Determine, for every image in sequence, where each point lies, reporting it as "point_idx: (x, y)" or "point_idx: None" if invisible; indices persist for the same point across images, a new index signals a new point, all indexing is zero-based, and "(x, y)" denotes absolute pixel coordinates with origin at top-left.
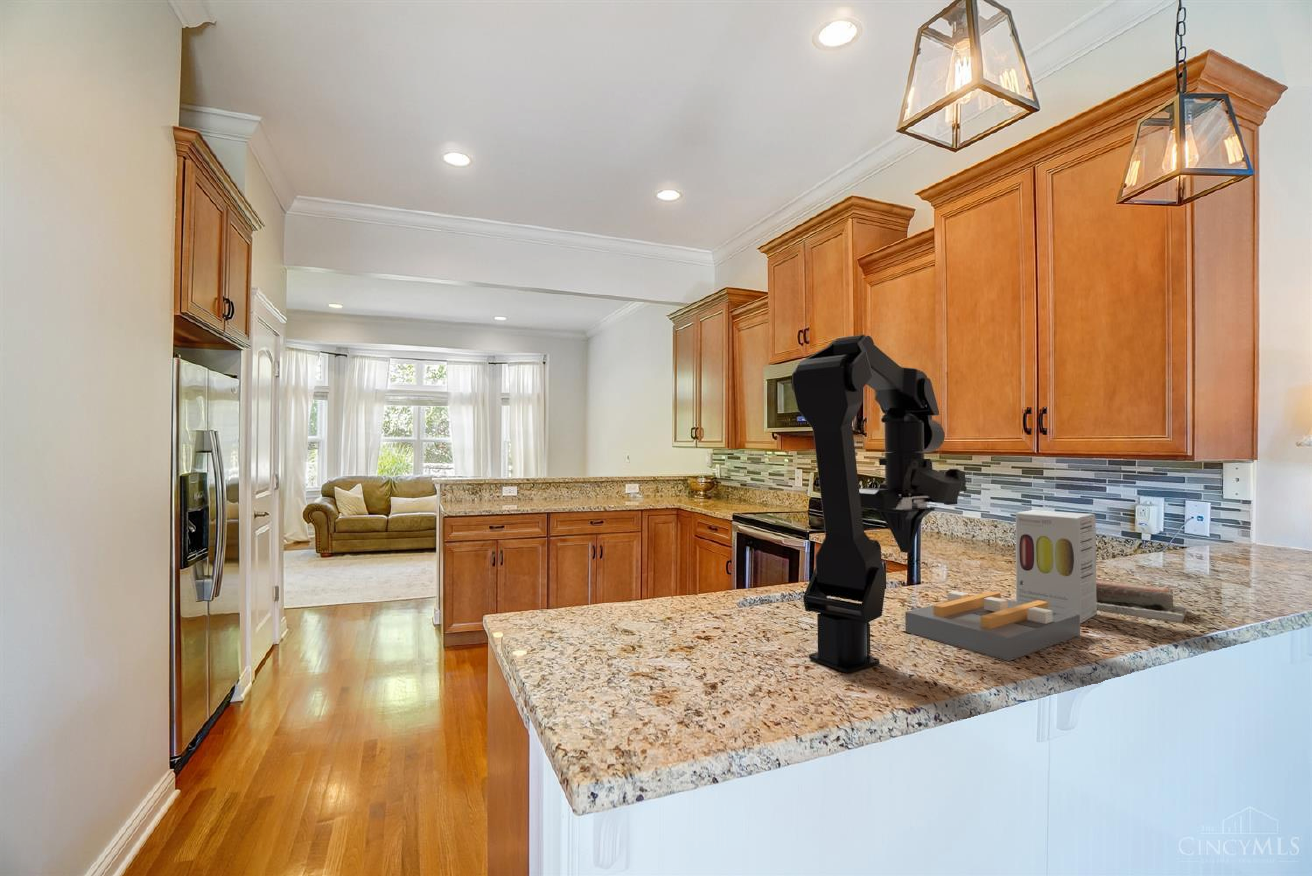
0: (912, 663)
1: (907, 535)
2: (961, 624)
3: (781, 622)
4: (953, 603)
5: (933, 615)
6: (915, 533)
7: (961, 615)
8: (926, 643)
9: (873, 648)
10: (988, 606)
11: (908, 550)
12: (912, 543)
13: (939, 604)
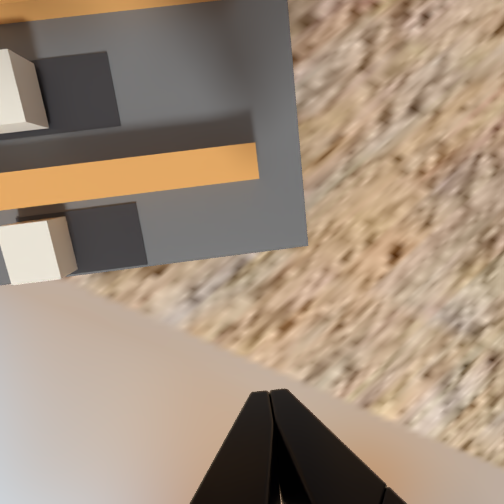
0: (496, 39)
1: (347, 464)
2: (275, 48)
3: (496, 424)
4: (168, 162)
5: (264, 172)
6: (219, 486)
7: (176, 128)
8: (329, 138)
9: (478, 173)
10: (36, 107)
11: (277, 392)
12: (240, 424)
13: (228, 177)
